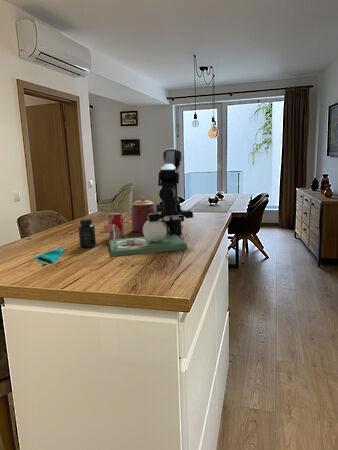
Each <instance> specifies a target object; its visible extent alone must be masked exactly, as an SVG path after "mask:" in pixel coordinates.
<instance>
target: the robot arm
mask: <svg viewBox="0 0 338 450" xmlns="http://www.w3.org/2000/svg"><path fill="white" fill-rule="evenodd" d="M162 155H163V156H162V160H163V162H164V165H162V166H161V167H160V170H159V172H158V181H157V183H158V184H157V185H158V187H161V189H160V190H159V193H158V195H159V199H161V202H162V203H161V204H160V203H159V204H156V205H155V207H156V209H155V211H156V212H155V213H148V215H147V220H148V221H150V222H152V221H158V220H159V219H160V220H162V221H163V222H164V223H165V225H166V230H167V231H166V234H167V235H170V236H172V234H175V235H183V232H182V222H185V219H192V218H193V219H194V213H193V211H192V210H189V209H186V210H185V209H184V210H183V208H182V206H181V204H180V203H179V200H178V196H179V195H178V184H180V174H179V172H178V170H179V168H180V166H181V162H182V160H183V159H182V158H183V157H182V151H180V150H177V148H166V149H165V151H163V153H162ZM159 213H160V214H159Z"/></svg>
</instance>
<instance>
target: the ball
mask: <svg viewBox="0 0 338 450" xmlns="http://www.w3.org/2000/svg"><path fill="white" fill-rule="evenodd" d="M166 231H167V230H166V223H165V222H163V221H162V220H161V219H159V220H158V221H152V222H150V221H146V222H145V224H144V226H143V233H142V234H143V237H145V238H146V239H148V240H149V241H152V242H158V241H160V240H162V239H163V238H164V237H165V235H167V232H166Z"/></svg>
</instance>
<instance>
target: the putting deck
mask: <svg viewBox="0 0 338 450" xmlns="http://www.w3.org/2000/svg"><path fill="white" fill-rule="evenodd" d="M103 229H104V231H103V232H104V233H105V232H109V231H113V239H109V240H108V242H109V249H110V253H111V254H110V255H111V256H112V257H115V256H116V257H117V256H126V255H127V256H128V255H135V254H136V255H137V254H149V253H159V252H160V253H161V252H168V251H171V252H172V251H177V250H178V251H180V250H188V245H187V243H186V242H184V241H183V239H181V238H180V237H179V236H178V234H176V235H175V234H172V236H170V235H169V234H166V235H165V237H164V238H163V239H162V240H160V241H158V242H152V241H149V240H148V239H146V238H145V236H139V237H138V236H136V237H127V238H125V237H123V238H122V239H115V225H109V224H104V225H103ZM127 245H139V246H127Z"/></svg>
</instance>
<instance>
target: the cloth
mask: <svg viewBox="0 0 338 450" xmlns="http://www.w3.org/2000/svg"><path fill="white" fill-rule="evenodd" d="M65 251H67V250H66V249H64V248H62V247H61V248H60V247H58V248H56V249H51V250H48V251H46V252H44V253H42V254H37V255H35V256H34V257H33V259H34V260H35V261H36V262H37V263H38V264H40V263H41V264H42V265H43V266H42V265H41V264H40V265H41V266H42V267H44V266H45V265H46V264H44V263H45V262H43V261H40V260H42V259H43V260H44V261H48V262H50V263H52V264H55V263H56V262H57V261H59V260H60V259H61V258H60V257H62V253H64V252H65ZM58 257H59V258H58ZM55 261H56V262H55ZM54 262H55V263H54Z"/></svg>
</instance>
